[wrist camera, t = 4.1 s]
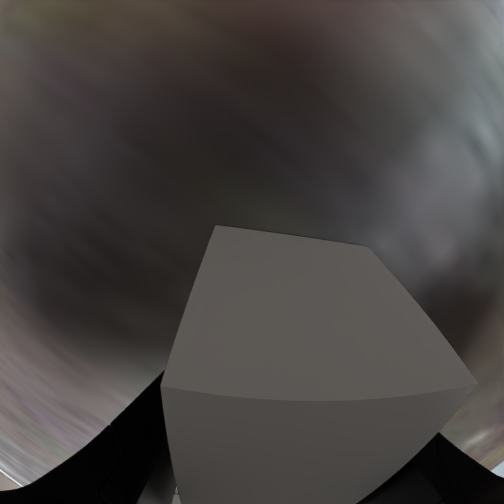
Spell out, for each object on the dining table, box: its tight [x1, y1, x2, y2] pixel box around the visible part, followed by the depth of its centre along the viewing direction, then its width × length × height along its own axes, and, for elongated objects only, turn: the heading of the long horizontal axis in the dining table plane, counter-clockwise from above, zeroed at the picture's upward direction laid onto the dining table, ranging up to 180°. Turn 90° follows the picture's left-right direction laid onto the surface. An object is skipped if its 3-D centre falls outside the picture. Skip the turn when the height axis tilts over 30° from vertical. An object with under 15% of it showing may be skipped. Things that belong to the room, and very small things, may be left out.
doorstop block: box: [160, 225, 478, 504], centre depth 6 cm, size 4×7×5 cm, turn 172°
